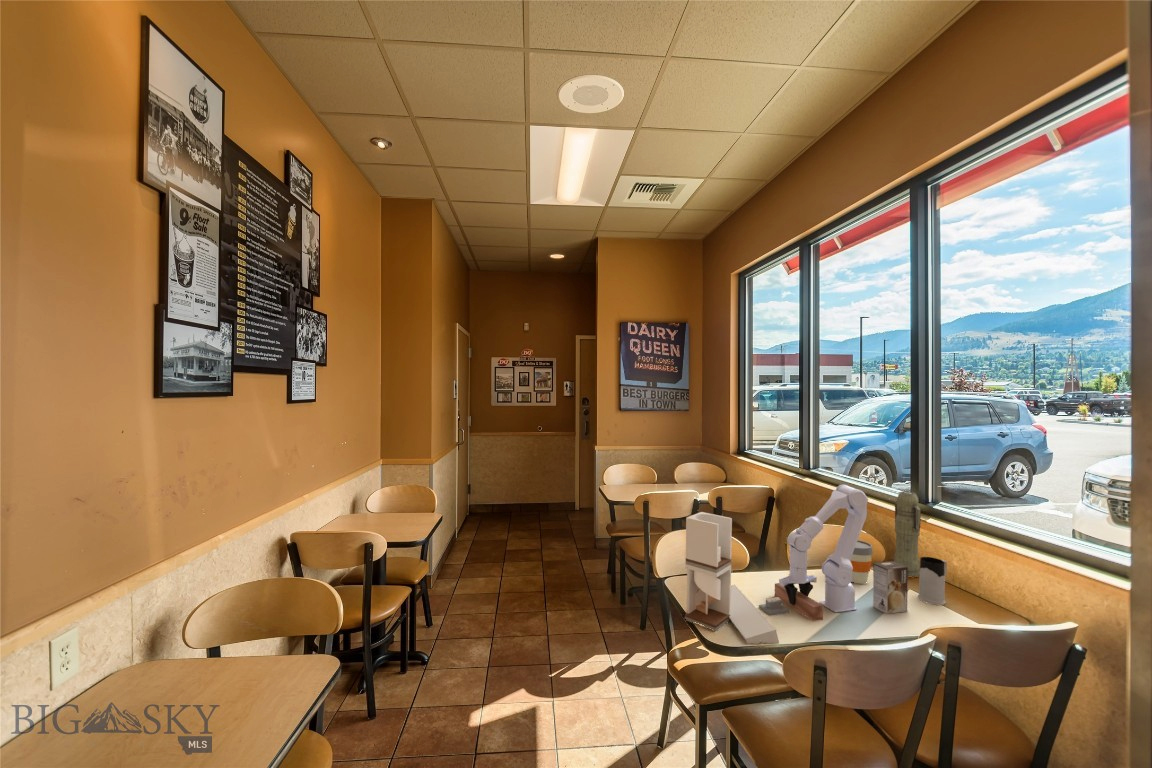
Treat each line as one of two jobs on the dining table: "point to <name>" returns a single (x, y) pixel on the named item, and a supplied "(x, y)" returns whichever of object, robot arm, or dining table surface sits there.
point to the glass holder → (932, 580)
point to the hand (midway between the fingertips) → (797, 603)
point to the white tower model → (708, 569)
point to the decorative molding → (750, 620)
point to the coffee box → (890, 587)
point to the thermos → (907, 531)
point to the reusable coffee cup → (861, 562)
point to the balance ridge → (773, 606)
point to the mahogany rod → (801, 603)
